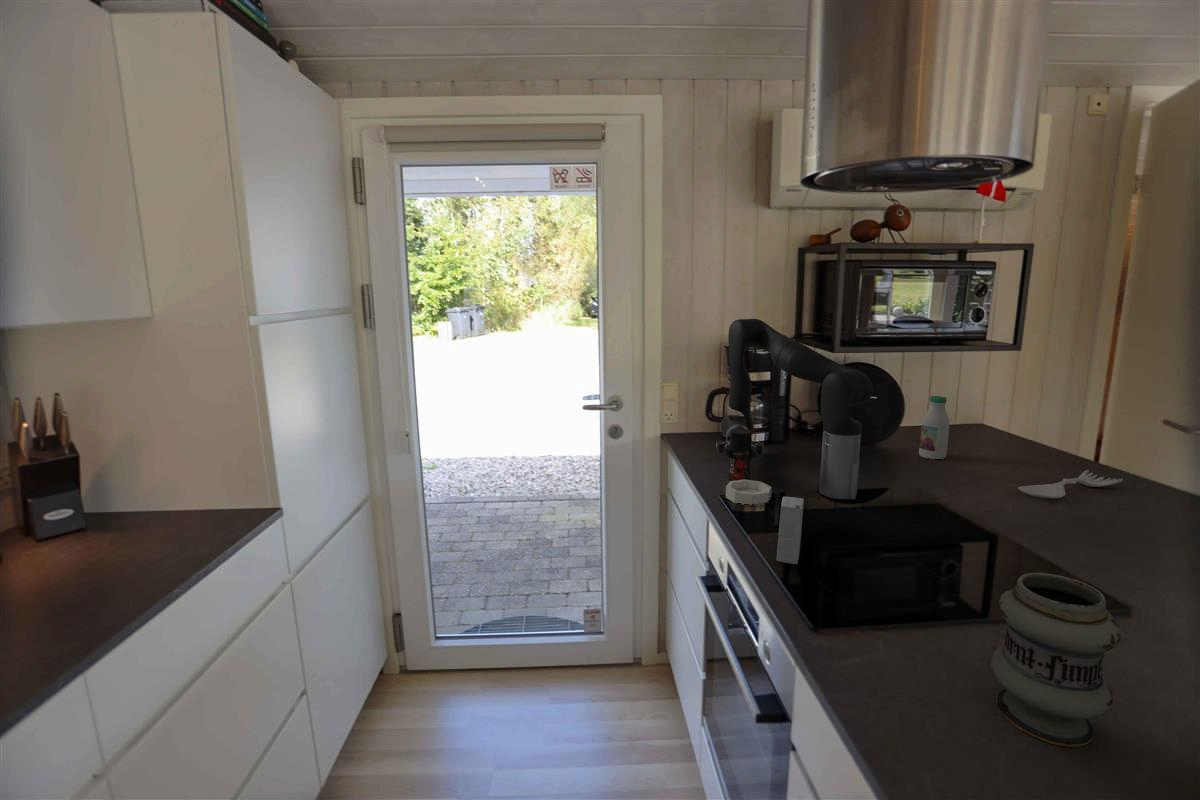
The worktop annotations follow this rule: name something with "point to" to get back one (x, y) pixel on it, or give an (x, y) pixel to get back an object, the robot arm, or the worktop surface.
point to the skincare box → (790, 530)
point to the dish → (748, 492)
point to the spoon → (1058, 488)
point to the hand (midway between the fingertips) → (740, 454)
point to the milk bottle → (935, 430)
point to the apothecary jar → (1054, 658)
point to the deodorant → (740, 454)
